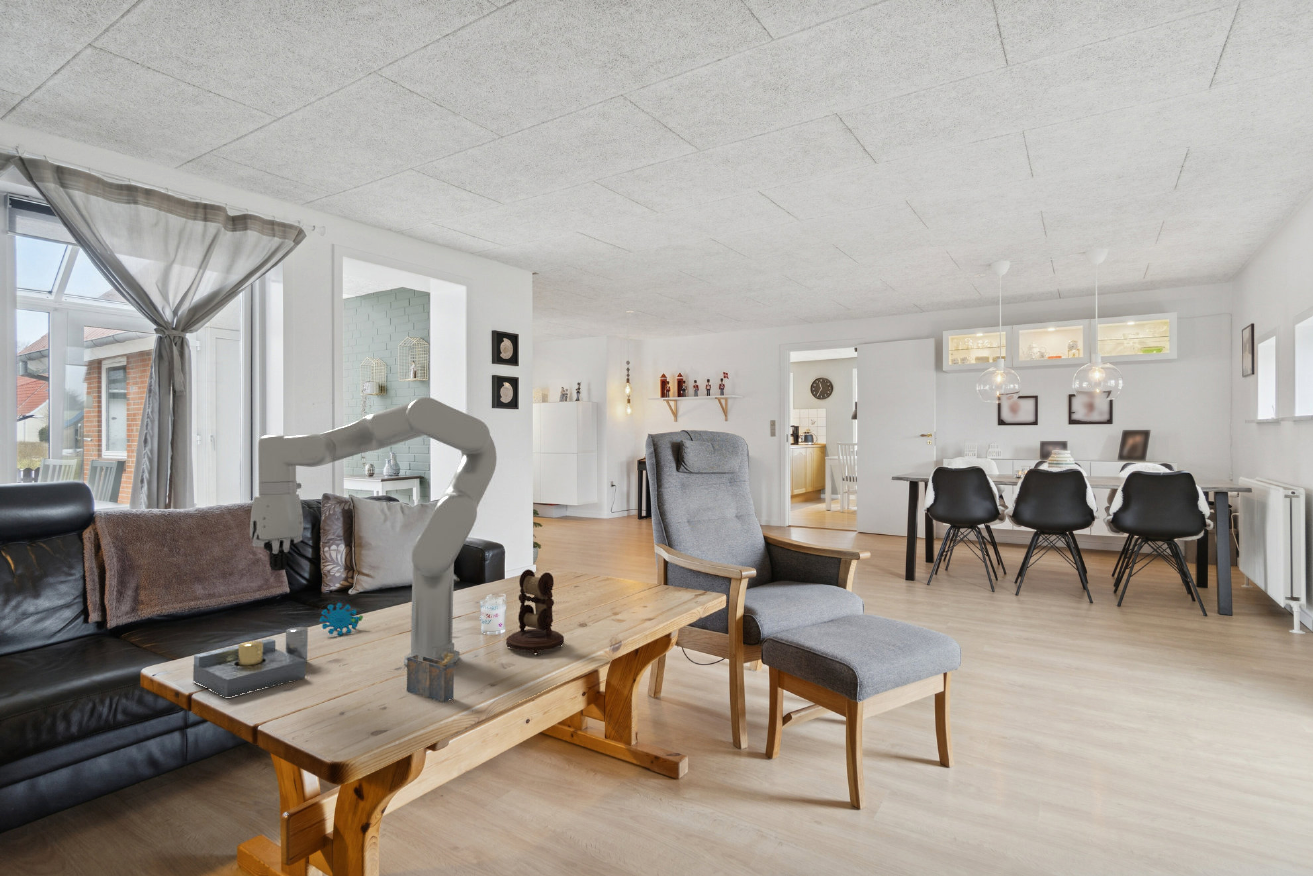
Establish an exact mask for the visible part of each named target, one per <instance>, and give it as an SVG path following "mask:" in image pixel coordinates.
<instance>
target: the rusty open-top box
mask: <svg viewBox="0 0 1313 876" xmlns="http://www.w3.org/2000/svg"><path fill="white" fill-rule="evenodd" d="M448 653H449V651H448V652H447V653H446V654H444V661H441V660H437V659H433V658H429V657H425V656H423V661H422V660H418V654H417V655H414V656H410V657H407V666H406V692H407V691H408V692H407V693H411V694H413V693H414V694H413V695H417V696H420V695H421V697H423V696H424V698H426V697H428V698H427V699H430V698H431V699H430V700H433V699H435V700H434V701H436V700H438V701H437V702H440V701H442V702H441V703H443V702H444V703H446V702H445V701H447V702H449V701H450V700H449V699H452V698H453V699H454V688H455V687H454V685H455V684H454V683H455V682H454V681H455V663H453V664H450V665H447V663H448V662H449V661H450V660H451V659H453V658H454V655H455V653H454V654H453V655H452V654H448ZM453 699H452V700H453ZM448 700H449V701H448Z"/></svg>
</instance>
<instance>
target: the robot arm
mask: <svg viewBox="0 0 1313 876" xmlns="http://www.w3.org/2000/svg"><path fill="white" fill-rule="evenodd" d="M424 436H426V437H429V438H431V439H433V440H435V441H436V442H437V441H438V442H439V443H442V444H444V445H446V446H449V447H451V448H454V449H455V450H458V451H460V452H461V458H460V459H461V460H460V463H459V465H458V467H457V469H456V471H455V473H454V475H453V477H452V478H451V480H450V482H449V483H448V484H449V485H448V486H447V488H446V489H445V491H444V493H443V495H441V496H440V498H439V499H438V501H437V503H436V505H435V509H434V510H433V512H432V514H431V516H430V518H429V520H428V521H427V523H426V525H425V527H424V529H423V530H422V532H421V534H419V535H418V537H417V538H416V539H415V541H414V543H413V545H412V550H411V563H412V579H411V580H412V584H411V585H412V587H411V624H410V625H411V626H410V627H411V629H410V653H408V654H406V655H405V656H404V657H403V664H404V665H405V666H406V667H407V657H410V656H414V655H417V654H418V660H422V661H423V656H425V657H429V658H433V659H437V660H441V661H444V654H446V653H447V652H448V651H449V653H448V654H452V655H453V654H454V653H455V655H454V658H453V659H451V660H450V661H449V662H448V663H447V665H450V664H455V663H456V662H457V661H458V660H459V657H460V651H459V650H456V649H455V642H453V629H454V628H453V621H454V620H453V619H454V618H453V617H454V615H453V614H454V579H455V578H454V577H455V576H454V574H455V573H454V571H455V570H454V569H455V566H454V565H455V561H456V559H457V557H458V556H459V553H460V552H461V549H462V548H463V546H464V544H465V543H466V541H467V538H468V536H469V535H470V533H471V531H472V529H473V527H474V525H475V522H476V520H477V517H478V516H477V515H478V506H479V505H480V502H481V500H482V499H483V497H484V495H485V492H486V491H487V489H488V486H489V485H490V483H491V481H492V478H493V477H494V474H495V471H496V466H497V449H496V445H495V442H494V440H493V437H492V436H491V432H490V429H489V427H488V426H487V424H486V423H485V422H484V421H482V420H481V419H479V418H477V417H475V416H472V415H470V414H468V413H466V412H463V411H461V410H459V409H456V408H454V407H451V406H449V405H447V404H445V403H443V402H441V401H439V400H437V399H435V398H432V397H428V396H425V397H423V396H422V397H419V398H416V399H414V401H411V402H408V403H405V404H401V405H398V406H395V407H392V408H388V409H385V410H381V411H378V412H374V413H371V414H369V415H366V416H364V417H362V418H360V419H359V420H357V421H355V422H352V423H350V424H348V425H345V426H342V427H337V428H334V429H331V430H328V431H325V432H322V433H310V434H303V435H293V436H292V435H288V434H287V435H283V434H282V435H281V434H280V435H279V434H277V435H271V434H270V435H263V436H261V437H260V438H259V440H258V445H257V446H258V447H257V449H258V452H257V453H258V455H257V456H258V459H257V461H258V465H257V466H258V495H256V496H254V498H253V502H252V506H251V513H250V523H249V537H250V539H252V543H251V545H252V546H253V547H258V548H263V549H264V550H266V552H267V553H269V567H270V569H271V571H276V572H280V571H285V570H286V566H287V553H288V552H289V550H290V548H291V547H292V546H293V545H294V544H296V543H299V542H301V541H302V540H303V533H304V518H303V516H304V515H303V508H302V501H301V497H300V495H299V493H297V492H298V489H299V490H300V489H302V483H300V482H298V481H297V467H307V468H317V467H320V466H325V465H328V464H332V463H334V462H338V461H340V460H345V459H346V458H347V459H348V458H351V457H354V456H357V455H360V454H364V453H367V452H374V451H378V450H381V449H385V448H389V447H391V446H394V445H397V444H400V443H404V442H408V441H411V440H414V439H416V438H420V437H424Z"/></svg>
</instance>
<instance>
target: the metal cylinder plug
mask: <svg viewBox="0 0 1313 876" xmlns="http://www.w3.org/2000/svg"><path fill="white" fill-rule="evenodd" d="M308 631H309V629H308V627H304V626H299V627H297V626H296V627H291V628H287V629H286V630H285V653H288V654H290V655H293V656H296V657H298V658H301V659H304V660H305V665H307V663H308V641H309V639H308V633H309V632H308Z"/></svg>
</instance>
